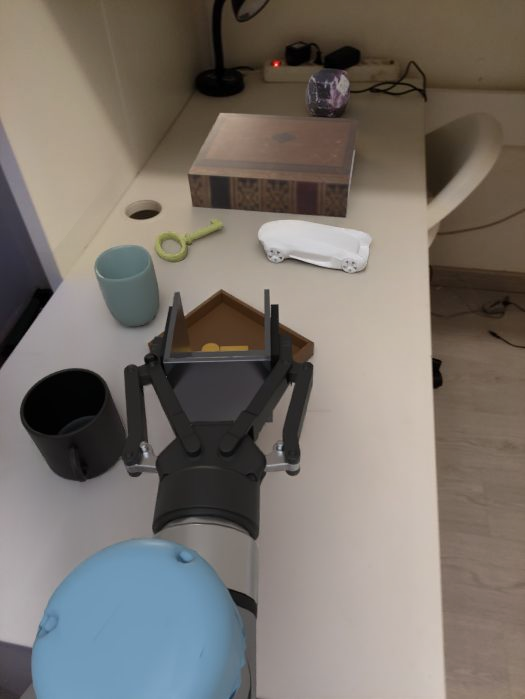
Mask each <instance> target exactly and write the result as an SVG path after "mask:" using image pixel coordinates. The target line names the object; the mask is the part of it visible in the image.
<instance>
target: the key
mask: <svg viewBox="0 0 525 699" xmlns="http://www.w3.org/2000/svg"><path fill="white" fill-rule="evenodd" d="M209 221H210V224H209V225H207V226H205V227H203V228H201V229H198V230H196V231H194V232H191V233H190V234H189V233H187V232H186V233H184V236H183V237H182V236H181V235H180V234H178V233H177V232H174V231H164V232H161V233H160V234H158V235H157V236H156V238H155V241H154V250H155V252H156V253H157V255H158V256H159V257H160V258H162V259H163V260H165V261H167V262H171V263H177V262H180V261H182V260H184V259H185V258H186V257H187V255H188V246H187V244H188V245H192V244H193V242H194V241H195V240H198V239H200V238H202V237H205V236H207V235H209V234H211V233H213V232H216V231H218V230H220V229H222V228H224V224H223V222H222V220H219V219H218V218H217V217H214V218H213V219H212V218H211V219H210V220H209ZM167 240H174V241H175V242H177V243H178V244H180V246H181V250H180V251H179V252H177V253H174V254H170V253H167V252H165V251H164V250H163V248H162V245H161V244H162V243H163V242H164V241H167Z"/></svg>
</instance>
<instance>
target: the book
mask: <svg viewBox="0 0 525 699" xmlns="http://www.w3.org/2000/svg"><path fill="white" fill-rule="evenodd" d="M358 124H359V118H344V117H324V116H303V115H302V116H300V115H299V116H298V115H280V114H279V115H278V114H255V113H254V114H252V113H234V112H219V115H218V116H217V118H216V120H215V122H214V124H213V125H212V127H211V129H210V131H209V133H208V135H207V137H206V138H205V140H204V142H203V144H202V146H201V148H200V150H199V152H198V153H197V155H196V157H195V159H194V161H193V163H192V165H191V167H190V168H189V170H188V172H187V178H188V179H187V180H188V186H189V194H190V198H191V204H192V205H191V206H192V208H193V207H195V208H207V209H222V210H233V211H235V210H236V211H249V212H264V213H276V214H277V213H278V214H292V215H306V216H319V217H320V216H321V217H334V218H347V213H348V212H347V211H348V206H349V205H348V204H349V199H350V198H349V197H350V190H351V185H352V184H351V183H352V176H353V170H354V162H355V155H356V150H355V144H356V138H357V131H358V130H357V129H358Z"/></svg>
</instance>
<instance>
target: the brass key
mask: <svg viewBox="0 0 525 699" xmlns="http://www.w3.org/2000/svg"><path fill="white" fill-rule="evenodd" d="M239 350H248V346H223V347H220V349H219V346H218V345H217V344H214V343H208V344H206V345H204V346H203V348H202V351H239Z"/></svg>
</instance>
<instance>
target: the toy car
mask: <svg viewBox="0 0 525 699" xmlns="http://www.w3.org/2000/svg"><path fill="white" fill-rule="evenodd" d="M257 238H258V240H259V243H261V244H262V245H263V250H264V252H265V254H266V257H267V259H268V260H269V261H270V262H272V263H277V264H278V263H281V262H283V261H284V259H296V260H299V261H301V262H305V263H309V264H312V265H316V266H319V267H323V268H328V269H335V270H336V269H338V270H343V271H344V272H346V273H348V274H353V273H357V272H360V271H362V270H364V269H365V268H366V266H367V264H368V258H369V254H370V248H369V246H370V245H371V243H372V241H373V237H372V235H370V234H369V233H368V232H365V231H363V230H360V229H352V228H346V227H339V226H333V225H328V224H323V223H319V222H318V223H317V222H312V221H307V220H301V219H279V220H278V219H277V220H272V221H271V220H270V221H267V222H265V223H264V224H262V225H261V226H260V228H259V230H258V232H257Z"/></svg>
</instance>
